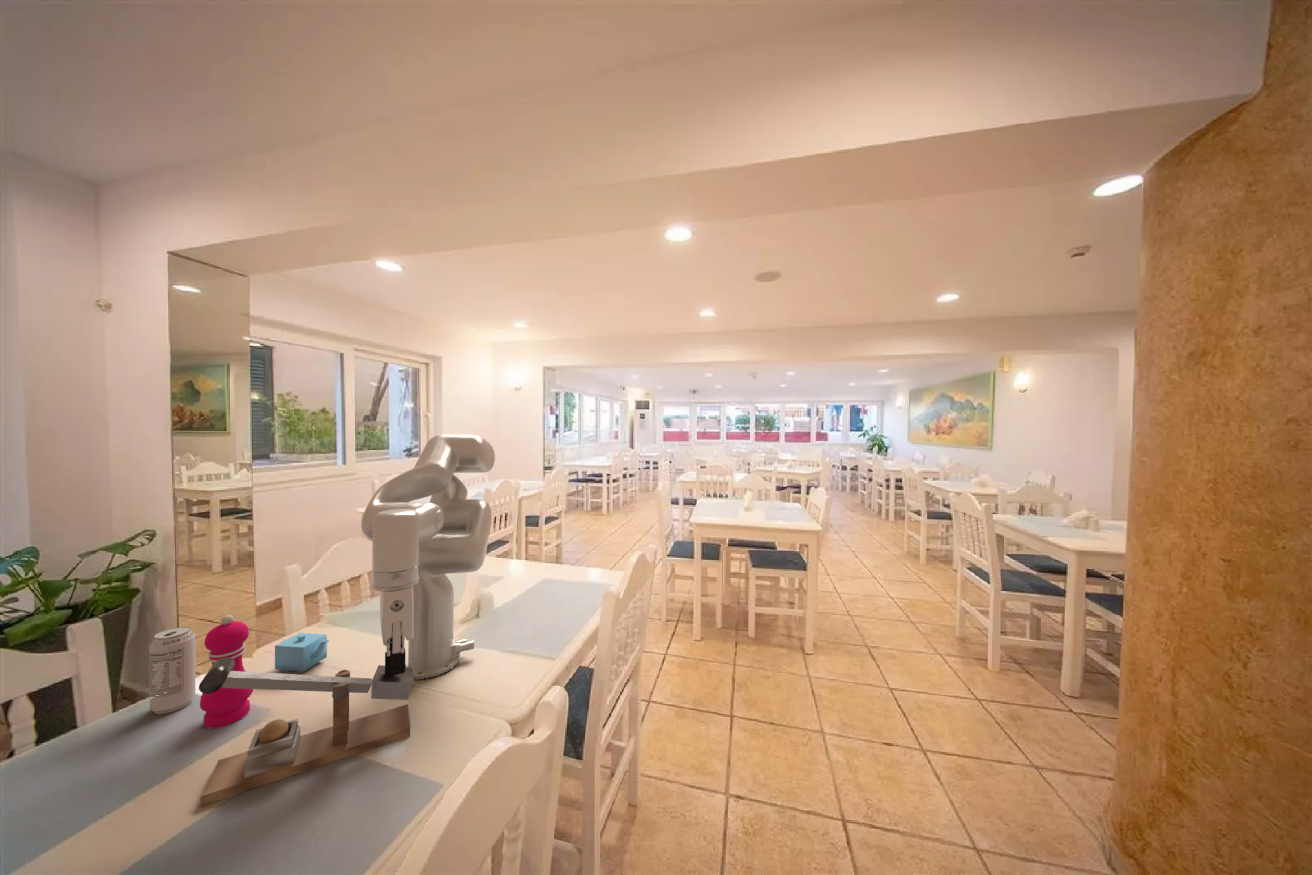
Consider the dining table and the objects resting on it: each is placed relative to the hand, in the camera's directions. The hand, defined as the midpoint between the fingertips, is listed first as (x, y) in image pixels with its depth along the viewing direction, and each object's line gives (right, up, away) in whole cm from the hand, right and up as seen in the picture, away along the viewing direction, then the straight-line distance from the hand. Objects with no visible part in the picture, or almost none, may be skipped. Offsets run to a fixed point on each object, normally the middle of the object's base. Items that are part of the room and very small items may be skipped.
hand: (395, 672), depth 79 cm
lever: (-10, +1, -6) cm, 12 cm away
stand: (-10, -11, -5) cm, 16 cm away
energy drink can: (-48, -10, +5) cm, 49 cm away
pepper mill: (-34, -10, +2) cm, 36 cm away
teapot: (-33, -10, +20) cm, 40 cm away
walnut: (-15, -5, -9) cm, 18 cm away
